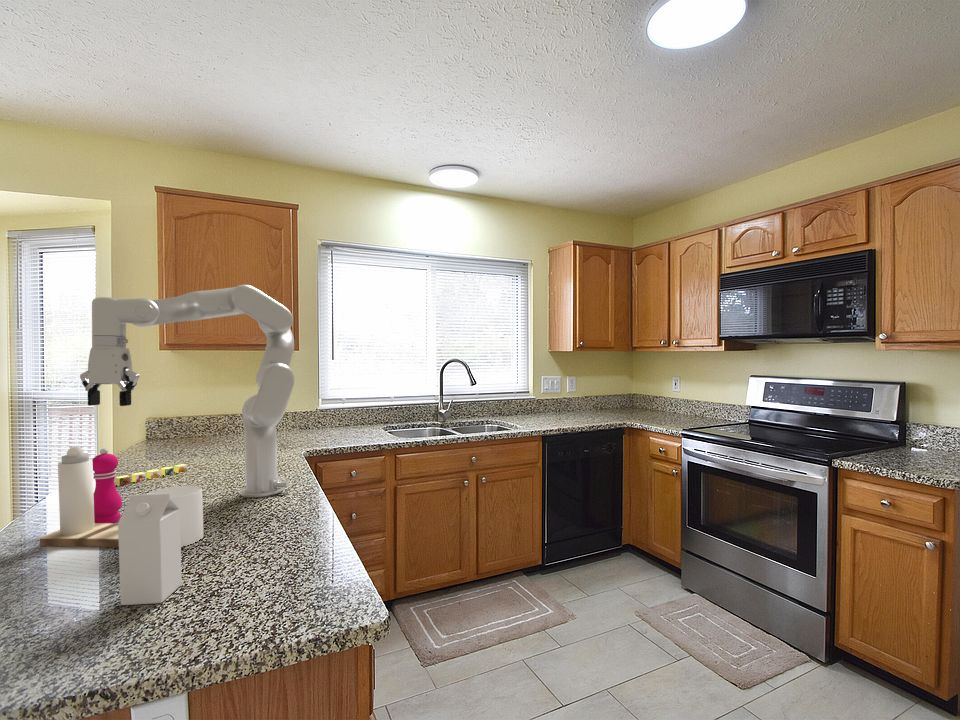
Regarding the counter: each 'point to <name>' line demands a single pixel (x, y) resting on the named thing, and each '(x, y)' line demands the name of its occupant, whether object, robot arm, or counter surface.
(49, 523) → the counter surface
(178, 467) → the stock cubes
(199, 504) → the cup
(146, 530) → the milk carton
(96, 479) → the pepper mill
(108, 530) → the wooden divided tray
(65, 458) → the salt mill
